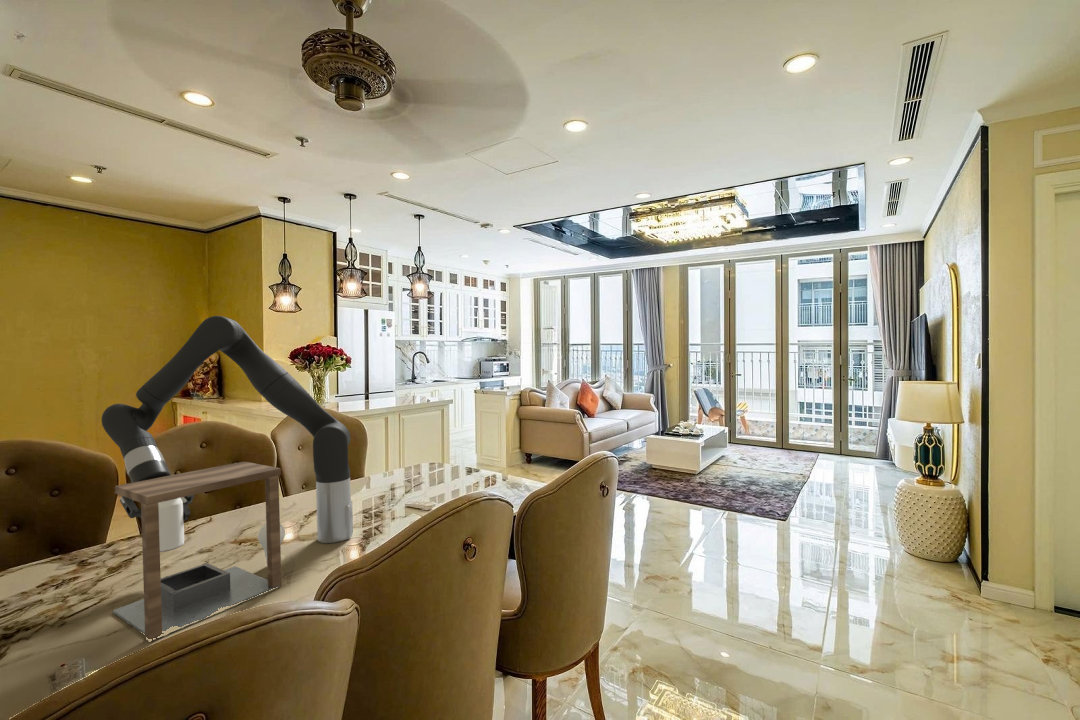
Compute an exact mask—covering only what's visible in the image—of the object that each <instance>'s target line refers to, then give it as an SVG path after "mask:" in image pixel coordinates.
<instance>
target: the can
mask: <svg viewBox="0 0 1080 720" xmlns="http://www.w3.org/2000/svg"><path fill="white" fill-rule="evenodd" d="M158 509H159V541H160V553H164V552H169V551H174V550H176V549H178V548H180V547H182V546H183V545H184V543H185V526H184V525H185V523H184V522H185V521H184V518H183V501H182V499H181V498H177V499H172V500H168V501H163V502H159V503H158Z"/></svg>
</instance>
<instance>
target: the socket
mask: <svg viewBox="0 0 1080 720" xmlns="http://www.w3.org/2000/svg"><path fill="white" fill-rule="evenodd" d="M278 586H279V585H278ZM278 586H276V587H278ZM273 588H275V587H270V586H268V578H264V577H262V576H259V575H257V574H254V573H252V572H250V571H247V570H246V569H243V568H241V567H238V566H232V567H229V568H226V569H221V568H219V567H217V566H214V565H213V564H210V563H208V562H206V563H203V564H200V565H196V566H194V567H191V568H188V569H185V570H183V571H178V572H175V573H173V574H169V575H167V576H165V577H161V605H162V631H166V630H167V629H169V628H170V627H172V626H173V627H174V626H178V627H182V626H184V625H186V624H190V623H192V622H194V621H197V620H201V619H204V618H206V617H207V616H210V615H211V614H212V613H214V612H216V611H218V608H219V609H220V608H221V607H222V608H223V607H226V606H231V605H234V604H237V603H239V602H241V601H244V600H248V599H250V598H252V597H255V596H257V595H259V594H261V593H264V592H266V591H269V590H271V589H273ZM112 614H114V615H115V614H116V615H115V616H117V617H118V618H120V619H121V620H122V619H123V620H122V621H124V622H125V621H126V622H125V623H126V624H128V623H129V624H130V625H129V624H128V625H129V626H131V625H132V626H133V627H132V626H131V627H132V628H134V627H135V628H136V629H137V630H136V629H135V628H134V629H135V630H136V631H138V630H139V631H140V632H139V631H138V632H139V633H141V632H142V633H144V634H145V614H144V598H143V599H140V600H138V601H135V602H134V601H133V602H132V603H129V604H126V605H124V606H120V607H118V608H115V609H113V610H112ZM204 620H205V619H204ZM142 633H141V634H142ZM162 634H164V633H162ZM157 637H158V636H157ZM157 637H155V638H156V639H157ZM157 640H158V639H157Z"/></svg>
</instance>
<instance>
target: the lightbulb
mask: <svg viewBox="0 0 1080 720" xmlns="http://www.w3.org/2000/svg"><path fill="white" fill-rule="evenodd" d="M285 535H286V529H285V527H284V526H283V524H281V523H280V546H281V544H282V542H283V541H284V538H285V537H286V536H285ZM257 540H258V543H259V544H260V546H261V547H262V548H263V551H264V557H265V559H266V563H267V531H266V523H265V524H264V525H263V526H262V527H261V528H260V529H259V531H258V532H257Z"/></svg>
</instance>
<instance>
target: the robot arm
mask: <svg viewBox="0 0 1080 720" xmlns="http://www.w3.org/2000/svg"><path fill="white" fill-rule="evenodd" d="M219 351H220V352H221V353H223V354H224V355H225V356H227V357H228V358H229V359H231V360H232V361H233V362H234V363H235V364H236V365H238V367H239V368H241V370H242V371H243V373H244V375H245V376H246V377H247V379H248V380H249V382H250V383H251V385H252V386H253V387H254V389H255V390H256V391H257V393H259V394H260V395H261V396H262V397H263V398H264V399H265V400H266V401H267V402H268V403H269V404H270V405H271V406H273V407H274V408H275V409H276V410H278V411H280V412H281V413H283V414H284V415H286V416H288V418H290V419H293V420H294V421H296V422H297V423H299V424H300V425H302V426H303V427H304V428H305V430H307V431H308V432H309V434H310V435H312V436H313V439H312V457H313V458H312V459H313V472H314V475H315V489H316V491H315V493H316V496H315V497H316V529H317V530H316V531H317V532H316V533H317V534H316V535H317V541H318V542H319V543H320V544H321V543H322V544H333V543H339V542H342V541H345V540H350V539H351V537H352V535H353V533H354V518H353V517H354V516H353V512H354V511H353V501H352V496H351V495H352V494H351V469H350V466H349V465H350V464H349V449H348V447H349V445H350V443H351V433H350V431H349V429H348V428H347V427H346V425H344V424H343V423H342V422H340V421H339V420H338V419H336V418H335V417H334V416H333V415H331V414H330V413H329V412H328V411H326V410H325V409H324V408H323V407H322V406H321V405H319V404H320V403H319V404H318V402H317V401H316V400H315V399H314V398H313V396H311V394H310V393H309V392H308V391H307V390H306V389H305V388H304V387H303V386H302V385H301V384H300V382H298V381H297V380H296V379H295V378H294V377H293V376H292V375H291V373H289V372H288V371H287V370H286V369H285V368H284V367H282V366H281V365H280V364H279V363H278V362H277V361H275V360H274V359H273V357H271V356H269V354H267V353H265V352H264V350H262V348H260V347H259V346H258V345H257V343H256V342H255V341H254V340H253V339H252V338H251V337H250V335H249V334H248V333H247V331H246V330H245V329H244V328H243V327H242V326H241V325H240V323H238V322H237V321H236V320H234V319H232V318H229V317H226V316H222V315H213V316H209V317H206V318H205V319H204V320H203V321H201V323H200V324H199V326H198V327H197V328H196V329H195V331H194V332H193V333H192V334H191V336H190V337H189V338H188V340H187V341H186V342H185V343H184V345H183V346H182V347H181V348H180V349H179V350H178V351H177V353H176V354H175V355H174V356H173V357H172V358H170V360H169V361H168V362H166V364H164V365H163V367H161V368H160V369H159V370H158V371H157V372H156V373H155V374H153V376H151V377H150V378H149V379H148V380H147V381H146V382H144V384H143V385H142V386H141V387H140V388H138V390H137V391H136V393H135V396H136V399H137V401H139V402H140V403H142V404H141V405H140V406H139V407H135V406H133V405H128V404H125V403H114V404H112V405H109V406H108V407H106V409H105V410H104V411H103V412H102V414H101V426H102V428H103V429H104V431H105V433H106V434H107V435H108V436H109V437H110V439H111V440H112V441H113V442H114V444H115V445H117V447H118V448H119V449H120V450H119V451H120V453H121V456H122V458H123V462H124V465H125V466H124V467H125V469H126V475H128V477H129V479H130V483H134V482H139V481H144V480H149V479H155V478H160V477H165V476H170V475H172V474H171V472H170V470H169V467H168V465H167V463H166V460H165V458H164V455H163V453H162V452H161V451H160V449H159V447H158V444H157V442H156V440H155V438H154V436H153V435H152V434H151V433H150V432H149V431H148V430H149V429H151V428H152V426H153V425H154V423H155V421H156V420H157V418H158V416H159V415H160V413H161V412H162V410H163V408H164V407H165V406H166V405H167V404H168V402H170V400H172V399H173V398H174V397H175V396H176V395H177V394H178V393H179V392H180V391H181V390H182V389H183V388H184V387H185V386H186V384H187V383H189V380H190V379H191V378H192V377H193V375H194V373H195V372H196V371H197V370H198V368H199V367H200V366H201V365H202V364H203V363H205V361H207V359H209V358H210V357H211V356H212V355H214V354H216V353H217V352H219ZM194 498H195V494H194V495H190V496H185V497H181V499H182V501H183V518H184V522H185V521H188V519H189V518H190V515H191V510H190V508H189V505H190V504H192V501H193V499H194ZM119 502H120V504H121V506H122V507H123V509H124V511H125V512H126V514H127V515H128V518H130V519H135V518H140V519H141V508H138V507H137V505H136V503H135V500H132V499H129V498H126V497H124V496H121V495H120V499H119Z"/></svg>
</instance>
